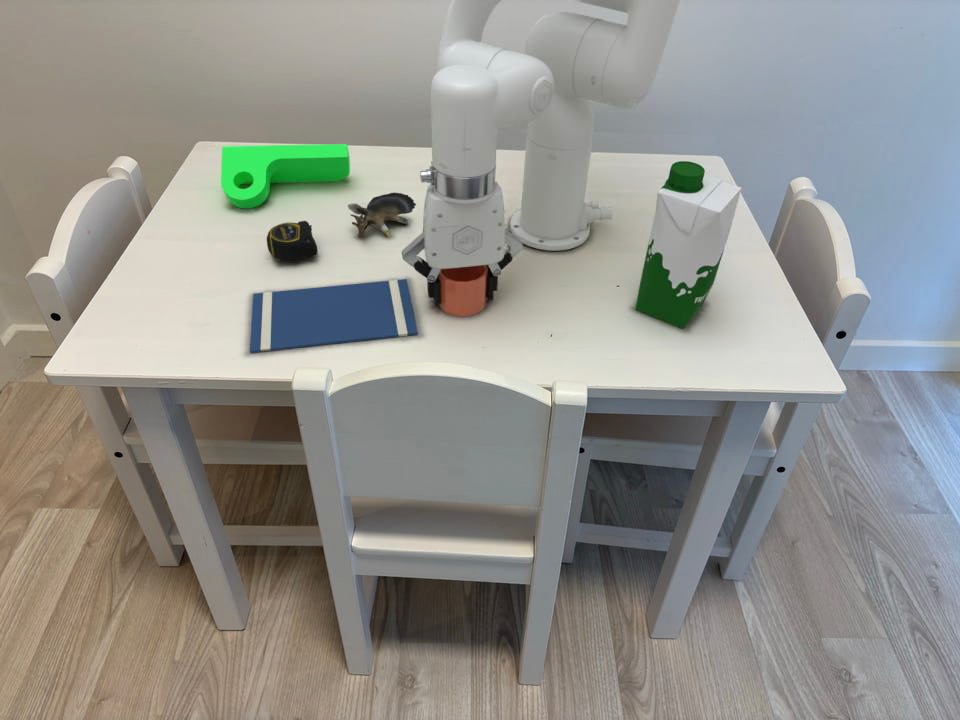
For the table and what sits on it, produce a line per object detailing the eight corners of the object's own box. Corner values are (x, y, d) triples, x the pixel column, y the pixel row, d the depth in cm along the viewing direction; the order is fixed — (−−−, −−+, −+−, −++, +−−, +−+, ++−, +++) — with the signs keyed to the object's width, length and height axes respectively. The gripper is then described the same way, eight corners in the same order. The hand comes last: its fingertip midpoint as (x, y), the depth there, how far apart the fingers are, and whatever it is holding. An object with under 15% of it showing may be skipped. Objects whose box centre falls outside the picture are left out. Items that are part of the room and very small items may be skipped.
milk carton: (652, 280, 100) (683, 150, 86) (712, 303, 96) (754, 171, 82) (625, 310, 94) (654, 176, 81) (688, 336, 90) (729, 199, 77)
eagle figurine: (379, 247, 102) (425, 217, 105) (353, 203, 100) (401, 174, 103) (360, 250, 108) (404, 222, 112) (336, 209, 106) (382, 182, 109)
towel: (406, 281, 98) (406, 278, 98) (417, 334, 89) (417, 332, 89) (253, 295, 94) (253, 293, 94) (250, 353, 86) (249, 350, 85)
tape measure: (320, 262, 101) (316, 241, 98) (272, 270, 99) (267, 247, 96) (313, 238, 105) (310, 217, 103) (267, 244, 104) (263, 223, 101)
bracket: (232, 222, 115) (219, 200, 108) (234, 171, 118) (221, 146, 111) (353, 218, 117) (348, 196, 110) (351, 168, 120) (346, 143, 113)
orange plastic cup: (480, 284, 98) (481, 252, 94) (490, 314, 93) (492, 280, 89) (434, 289, 97) (434, 256, 93) (442, 319, 92) (442, 285, 88)
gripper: (394, 198, 78) (402, 321, 90) (542, 187, 81) (530, 307, 93) (387, 167, 83) (396, 287, 95) (526, 158, 86) (517, 275, 98)
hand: (462, 296), depth 94 cm, fingers closed on orange plastic cup, 6 cm apart
